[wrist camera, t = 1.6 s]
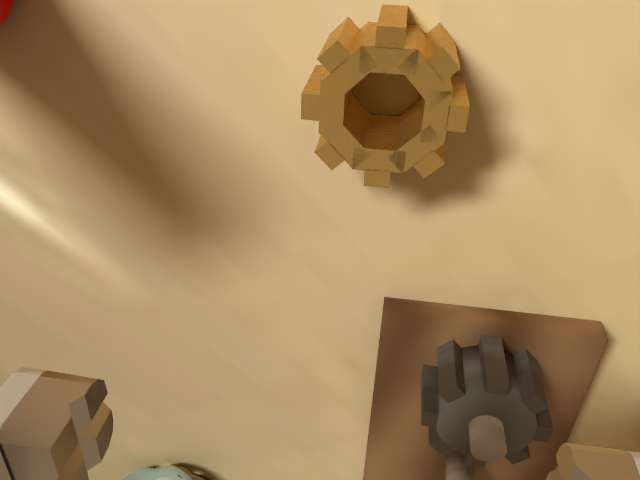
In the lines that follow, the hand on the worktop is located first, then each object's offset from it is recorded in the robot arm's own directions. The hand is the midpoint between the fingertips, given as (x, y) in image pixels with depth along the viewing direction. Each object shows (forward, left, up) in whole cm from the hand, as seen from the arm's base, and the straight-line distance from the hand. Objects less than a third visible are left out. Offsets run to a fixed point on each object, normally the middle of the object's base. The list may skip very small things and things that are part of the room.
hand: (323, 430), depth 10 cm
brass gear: (0, 0, -20) cm, 20 cm away
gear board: (-7, +24, -20) cm, 32 cm away
